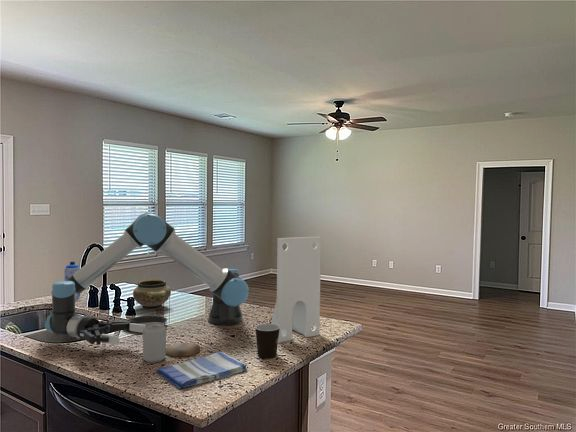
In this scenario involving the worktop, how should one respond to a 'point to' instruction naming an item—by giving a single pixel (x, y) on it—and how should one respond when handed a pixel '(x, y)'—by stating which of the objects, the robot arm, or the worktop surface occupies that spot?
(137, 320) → the frying pan
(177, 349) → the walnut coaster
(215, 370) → the dish towel
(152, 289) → the ceramic bowl
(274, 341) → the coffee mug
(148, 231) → the robot arm
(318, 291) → the arched white panel
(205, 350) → the worktop surface
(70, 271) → the aerosol can
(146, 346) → the can
